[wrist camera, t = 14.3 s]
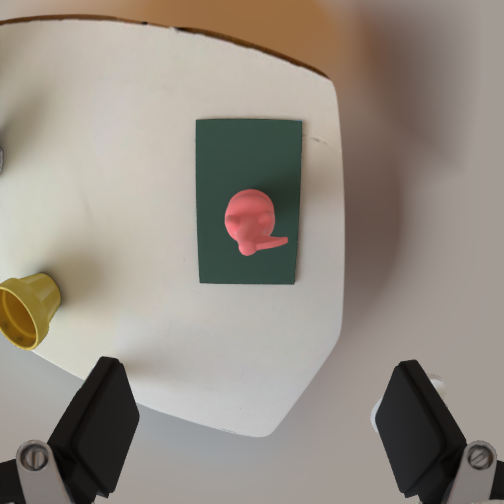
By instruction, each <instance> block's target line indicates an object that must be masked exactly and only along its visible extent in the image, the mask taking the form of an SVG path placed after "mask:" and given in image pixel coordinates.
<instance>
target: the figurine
mask: <svg viewBox="0 0 504 504" xmlns="http://www.w3.org/2000/svg"><path fill="white" fill-rule="evenodd" d="M274 225H275V214H274V206H273V203H272V201H271V200H270V198H269V197H268V196H267V195H266V194H265V193H263V192H261V191H259V190H254V189H247V190H243V191H240V192H238V193H237V194H236V195H234V196H233V197H232V199H231V200H230V202H229V204H228V207H227V210H226V213H225V226H226V228H227V231H228V233H229V234H230V236H231V237H232V238H233V239H234V240H236V241H237V242H238V244H239V250H240V252H241V253H242V254H243V255H246V256H249V255H252V254H254V253H255V252H256V251H257V250H261V249H267V248H273V247H277V246H281V245H283V244H286V243H288V237H272V236H270V234H271V233H272V231H273V229H274Z"/></svg>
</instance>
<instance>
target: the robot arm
mask: <svg viewBox="0 0 504 504" xmlns="http://www.w3.org/2000/svg"><path fill="white" fill-rule="evenodd" d="M138 422H139V411H138V409H137V406H136V403H135V400H134V397H133V394H132V391H131V388H130V385H129V382H128V378H127V375H126V372H125V369H124V366H123V364H122V363H120V362H119V360H118V359H116V358H111V357H105V356H102V357H100V358H99V360H98V362H97V363H96V365H95V366H94V368H93V369H92V371H91V372H90V374H89V376H88V377H87V379H86V380H85V382H84V383H83V385H82V387H81V388H80V389H79V390H78V391H77V393H76V395H75V396H74V397H73V399H72V401H71V402H70V404H69V406H68V407H67V409H66V411H65V413H64V414H63V416H62V418H61V419H60V421H59V423H58V424H57V426H56V428H55V429H54V431H53V433H52V435H51V436H50V438H49V440H48V442H47V444H46V443H45V442H42V441H40V440H29V441H27V442H25V443H23V444H22V445H21V446H20V447H19V449H18V450H17V454H16V459H13V460H10V461H6V462H2V463H0V504H95V503H94V500H95V497H96V495H99V496H102V497H105V498H108V496H109V493H113V492H114V490H115V488H116V485H117V482H118V479H119V476H120V473H121V470H122V467H123V464H124V461H125V458H126V456H127V453H128V450H129V447H130V444H131V442H132V439H133V436H134V433H135V431H136V428H137V425H138ZM375 423H376V426H377V429H378V431H379V434H380V437H381V439H382V442H383V445H384V448H385V450H386V453H387V456H388V459H389V462H390V464H391V468H392V470H393V473H394V476H395V479H396V482H397V485H398V488H399V491H400V492H401V493H404V495H405V498H409V497H412V496H415V495H418V496H419V498H420V501H419V502H417V503H415V504H504V462H502V461H499V460H497V454H496V451H495V449H494V448H493V446H491V445H490V444H489V443H487V442H484V441H474V442H472V443H470V444H468V445H467V443H466V439H465V437H464V435H463V434H462V432H461V430H460V428H459V427H458V425H457V423H456V422H455V420H454V418H453V416H452V415H451V413H450V411H449V410H448V408H447V404H445V403H444V402H443V400H442V398H441V397H440V395H439V394H438V392H437V390H436V389H435V387H434V386H433V384H432V382H431V381H430V379H429V378H428V376H427V375H426V373H425V372H424V370H423V369H422V367H421V366H420V364H419V363H418V361H417V360H408V361H401V362H400V363H399V365H398V366H396V367H395V368H394V371H393V373H392V376H391V379H390V381H389V384H388V386H387V389H386V391H385V394H384V396H383V399H382V401H381V403H380V406H379V408H378V410H377V412H376V415H375Z"/></svg>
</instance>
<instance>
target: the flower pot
mask: <svg viewBox="0 0 504 504" xmlns="http://www.w3.org/2000/svg"><path fill="white" fill-rule="evenodd" d="M60 302H61V295H60V291H59V288H58V286H57V285H56V283H55V282H54V280H53V279H52V278H51V277H50V276H48V275H46V274H44V273H37V274H34V275H31V276H28V277H24V278H21V279H17V278H10V279H8V280H6V281H4V282H3V283H1V284H0V331H1V332H2V333H3V334H4V336H5V337H6V338H7V339H8V340H9V341H10V342H11V343H12V344H14V345H15V346H17V347H19V348H21V349H24V350H32V349H35V348H36V347H37V346H38V345H39V344H40V343H41V342H42V340H43V339H44V338H45V337H46V335H47V333H48V330H49V323H50V321H51V319H52V318H53V316H54V314H55V312H56V311H57V309H58V307H59V305H60Z"/></svg>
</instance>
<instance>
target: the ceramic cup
mask: <svg viewBox="0 0 504 504" xmlns="http://www.w3.org/2000/svg"><path fill="white" fill-rule="evenodd" d="M2 168H3V150H2V149H1V147H0V172H1V170H2Z"/></svg>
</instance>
